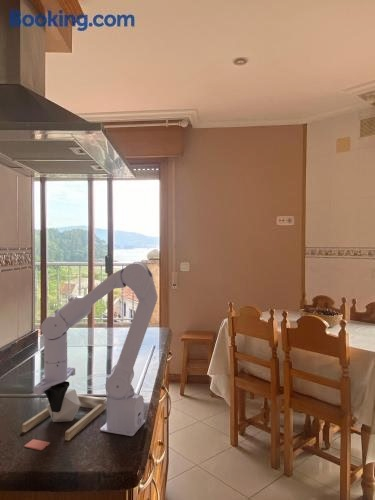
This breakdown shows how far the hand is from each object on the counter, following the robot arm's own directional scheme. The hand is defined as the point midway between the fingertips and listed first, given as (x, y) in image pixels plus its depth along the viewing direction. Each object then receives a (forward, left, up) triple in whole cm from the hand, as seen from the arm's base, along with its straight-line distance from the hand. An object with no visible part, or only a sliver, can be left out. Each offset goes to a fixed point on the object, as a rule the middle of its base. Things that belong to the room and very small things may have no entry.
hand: (56, 411), depth 94 cm
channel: (0, -4, -4) cm, 6 cm away
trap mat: (-1, +8, -4) cm, 10 cm away
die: (+1, -5, -5) cm, 6 cm away
